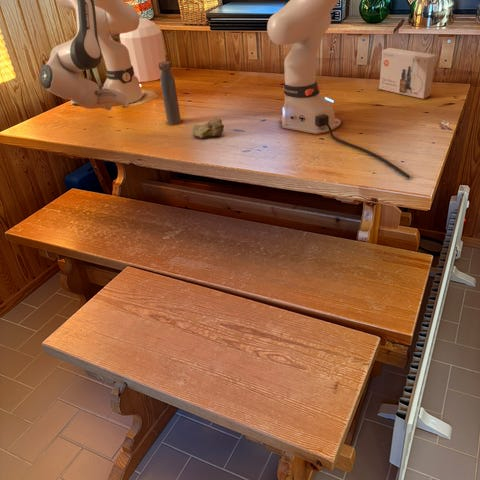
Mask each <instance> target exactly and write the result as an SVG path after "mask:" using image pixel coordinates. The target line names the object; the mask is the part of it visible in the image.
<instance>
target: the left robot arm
mask: <svg viewBox="0 0 480 480" xmlns="http://www.w3.org/2000/svg"><path fill="white" fill-rule="evenodd" d="M56 1H57V3H58V4H60V5H61V7H64V8H65V9H67V10H69V11H72V12H75V17H76V29H77V31H76V34H75V36H73V38H71V39H69V40H67V41H65V42H61V43H60V44H58V45H56V46H54V47H52V49H50V53H49V58H48V60H47V62H46V63H45V64H44V65H43V66H41V68H40V70H39V82H40V85H41V86H42V88H43V89H45V90H46V91H47V92H49V93H51V94H52V95H55V96H57V97H59V98H61V99H64V100H70V105H71V106H74V107H81V108H83V109H88V110H96V109H102V110H107V111H112V108H113V107H120V106H122V108H124V109H129V108H130V104H131V103H135V102H138V101H140V100H141V99H142V98H143V96H145V95H146V93H145V91H143V90H142V84H140V82H139V80H138V78H137V77H136V76H134V69H133V66H132V65H131V61H130V56H129V51H128V49H127V47H126V46H125V45H123V44H121V42H118V41H116V40H114V39H113V38H112V35H120V34H121V33H128V32H131V31H134V30H136V29H137V28H138V26H139V22H140V18H141V17H140V14H139V12H138V10H137V8H136V7H135V6H134V5H132V4H130V3H128V2H126V1H124V0H56ZM102 57H103V58H102ZM102 59H103V61H104V64H105V68H106V69H105V76H106V80H105V81H104V83H103V84H101V85H99V84H97V82H95V81H92V80H90V79H88V78H86V77H84V76H82V72H84V71H88V70H93V69H96V68H98V66H100V64H101V61H102Z"/></svg>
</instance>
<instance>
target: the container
mask: <svg viewBox="0 0 480 480" xmlns="http://www.w3.org/2000/svg"><path fill="white" fill-rule="evenodd" d="M139 18H140V22H139V26H138V28H137V29H136V30H134V31H131V32H128V33H121V34H119V41H120V43H121V44H123V45H125V46H126V47H127V49H128V51H129V56H130V61H131V65H132V66H133V69H134V76H136V77H137V78H138V80H139V83H144V82H152V81H157V80H160V77H161V72H162V71H161V70H160V69H159V63H160V62H165V61H167V57H166V51H165V45H164V39H163V32H162V30H161V29H160V27H159V26H158V25H157V24H156V23H155V22H154V21H152V20H150V19H148V18H144V17H139Z"/></svg>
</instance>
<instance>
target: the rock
mask: <svg viewBox="0 0 480 480" xmlns="http://www.w3.org/2000/svg"><path fill="white" fill-rule="evenodd" d="M224 127H225V124H224V123H223V121H222V119H221V118H220V117H218V116H215V117H213V118H211V119H210V120H208V121H207V122H206V123H205V124H193V125H192V132H193V135H194V136H195V137H196V138H198V139H205V138H212V137H220V136H221V135H222V133H223V132H224Z"/></svg>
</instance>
